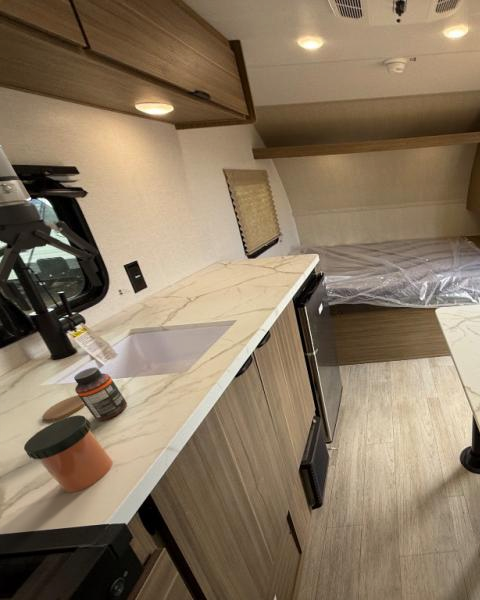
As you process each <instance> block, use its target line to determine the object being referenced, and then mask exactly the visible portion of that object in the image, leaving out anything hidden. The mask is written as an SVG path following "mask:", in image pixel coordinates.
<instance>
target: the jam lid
mask: <svg viewBox="0 0 480 600" xmlns="http://www.w3.org/2000/svg"><path fill="white" fill-rule="evenodd" d="M91 426H92V424H91V423H90V421H89V420H88V419H87V417H85V416H84V415H81V414H79V415H70V416H67V417H64V418H62V419H59V420H56V421H54V422H53V423H52V424H49V425H47V426H45V427H44V428H42V429H41V430H39V431H38V432H36V433H35V434H34V435H33V436H31V437H30V438H29V439H28V440H27V441H26V442H25V444H24V445H23V450H24V451H25V453H26V455H27V456H28V457H29V458H30V459H32V460H38V459H44V458H48V457H51V456H53V455H56V454H58V453H60V452H62V451H64V450H66V449H68V448H70V447H71V446H73V445H74V444H76V443H77V442H79V441H80V440H81V439H82V438H83V437H84V436H85V435H86V434H87V433H88V432H89V430H91V429H92V427H91Z"/></svg>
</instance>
